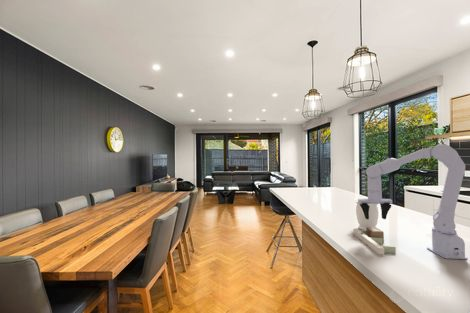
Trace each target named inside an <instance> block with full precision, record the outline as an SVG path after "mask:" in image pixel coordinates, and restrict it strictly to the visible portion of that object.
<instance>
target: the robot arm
mask: <svg viewBox="0 0 470 313" xmlns="http://www.w3.org/2000/svg"><path fill="white" fill-rule="evenodd" d="M431 157H433V159H435V160H437V161H439V162H441V163H442V165H444V166H445V167H446V168H447V172H446V177H445V181H444V186H443V190H442V193H441V198H440V201H439V202H440V203H439V205H438V209H437V211H436V213H435V214H434V215H433V216H432V220H433V222H432V223H433V226H432V227H431V242H432V243H431V246H427V247H426V249H427V250H428V251H431V252H433V253H435V254H437V255H438V256H440V257H441V258H443V259H449V260H450V259H455V260H456V259H457V260H468V257H467V256H466V248H465V247H466V244H465V240H464V239H463V237H461V236H460V235H459V234H458V233H457V230H456V226H457V225H456V222H455V215H456V214H455V213H456V208H457V207H456V206H457V203H458V199H459V196H460V191H461V187H462V183H463V180H464V176H465V172H466V171H465V170H466V164H465V162H464V161H463V159H462V158H461V156H460V155H459V153H458V151H457V149H454V148H453V147H451V146H450V145H448V144H444V143H441V144H437V145H435V146H429V147H425V148H421V149H419V150H416V151H414V152H412V153H408V154H406V155H403V156H402V157H399V158H394V157H391V158H390V157H387V158H386V159H385V160H383V161H381V162H375V164H374V165H370V166H367V168H366V169H365V173H366V175H367V176H366V177H367V181H366V182H367V185H366V186H367V198H361V199H359V198H358V199H357V200H358V203H359V204H360V206H361V208H362V210H363V212H364V215H365V218H366V219H369V207H370V206H369V205H368V204H378V205H380V210H381V219H383V220H386V219H387V216H388V213H389V211H390V210H391V208H392V205H393V200H392V199H391V198H383V196H382V195H383V194H382V193H383V190H382V177H381V175H386V174H389V173H393V172H394V171H397V170H399V169H400V168H401V166H402V165H406V164H408V163H409V164H410V163H411V162H414V161H417V160H420V159H432V158H431Z"/></svg>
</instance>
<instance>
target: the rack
mask: <svg viewBox="0 0 470 313" xmlns="http://www.w3.org/2000/svg"><path fill="white" fill-rule="evenodd" d="M352 231H353V235H354V236H356V237H357V238H358V239H360V241H361V242H362V243H364V244H366V245H367V246H368V247H369V248H370V249H371V250H373V251H374V252H375V253H376V254H378V255H379V256H380V255H382V256H384V255H385V253H386V254H387V253H390V254H397V253H396V252H397V250H396V249H397V248H396V246H395V245H381V244H384V242H383V238H377V237H368V236H367V235H366V230H362V229H360V228H353V230H352Z"/></svg>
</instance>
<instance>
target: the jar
mask: <svg viewBox="0 0 470 313" xmlns="http://www.w3.org/2000/svg"><path fill="white" fill-rule="evenodd" d="M355 203H356V206H355V207H356V208H355V214H356V215H355V216H356V220H357V223H358V225H359V226H358V229H359V230H366V227H377V225H378V222H379V221H378V220H379V209H378V208H379V207H378V205H379V204H368V205H369V206H370V207H369V219H366V218H365V215H364V212H363V210H362V208H361V206H360V204H359V203H358V199H357V200H355Z"/></svg>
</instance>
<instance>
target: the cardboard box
mask: <svg viewBox="0 0 470 313" xmlns="http://www.w3.org/2000/svg"><path fill="white" fill-rule="evenodd" d="M366 235H367V236H368V237H377V238H383V243H385V239H384V238H385V236H384V235H385V234H384V231H383V230H381V229H380V228H378V227H377V226H375V227H366Z"/></svg>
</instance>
